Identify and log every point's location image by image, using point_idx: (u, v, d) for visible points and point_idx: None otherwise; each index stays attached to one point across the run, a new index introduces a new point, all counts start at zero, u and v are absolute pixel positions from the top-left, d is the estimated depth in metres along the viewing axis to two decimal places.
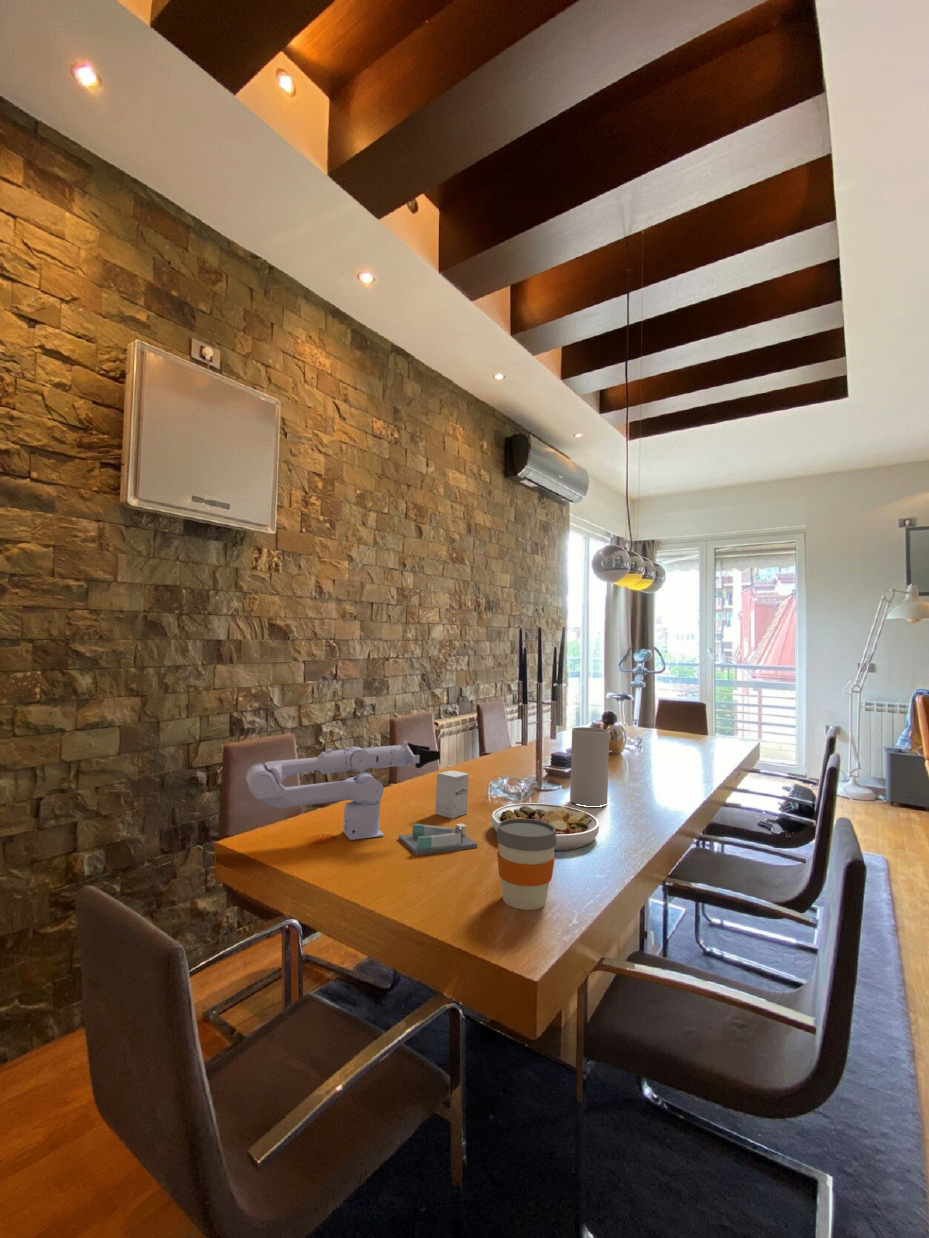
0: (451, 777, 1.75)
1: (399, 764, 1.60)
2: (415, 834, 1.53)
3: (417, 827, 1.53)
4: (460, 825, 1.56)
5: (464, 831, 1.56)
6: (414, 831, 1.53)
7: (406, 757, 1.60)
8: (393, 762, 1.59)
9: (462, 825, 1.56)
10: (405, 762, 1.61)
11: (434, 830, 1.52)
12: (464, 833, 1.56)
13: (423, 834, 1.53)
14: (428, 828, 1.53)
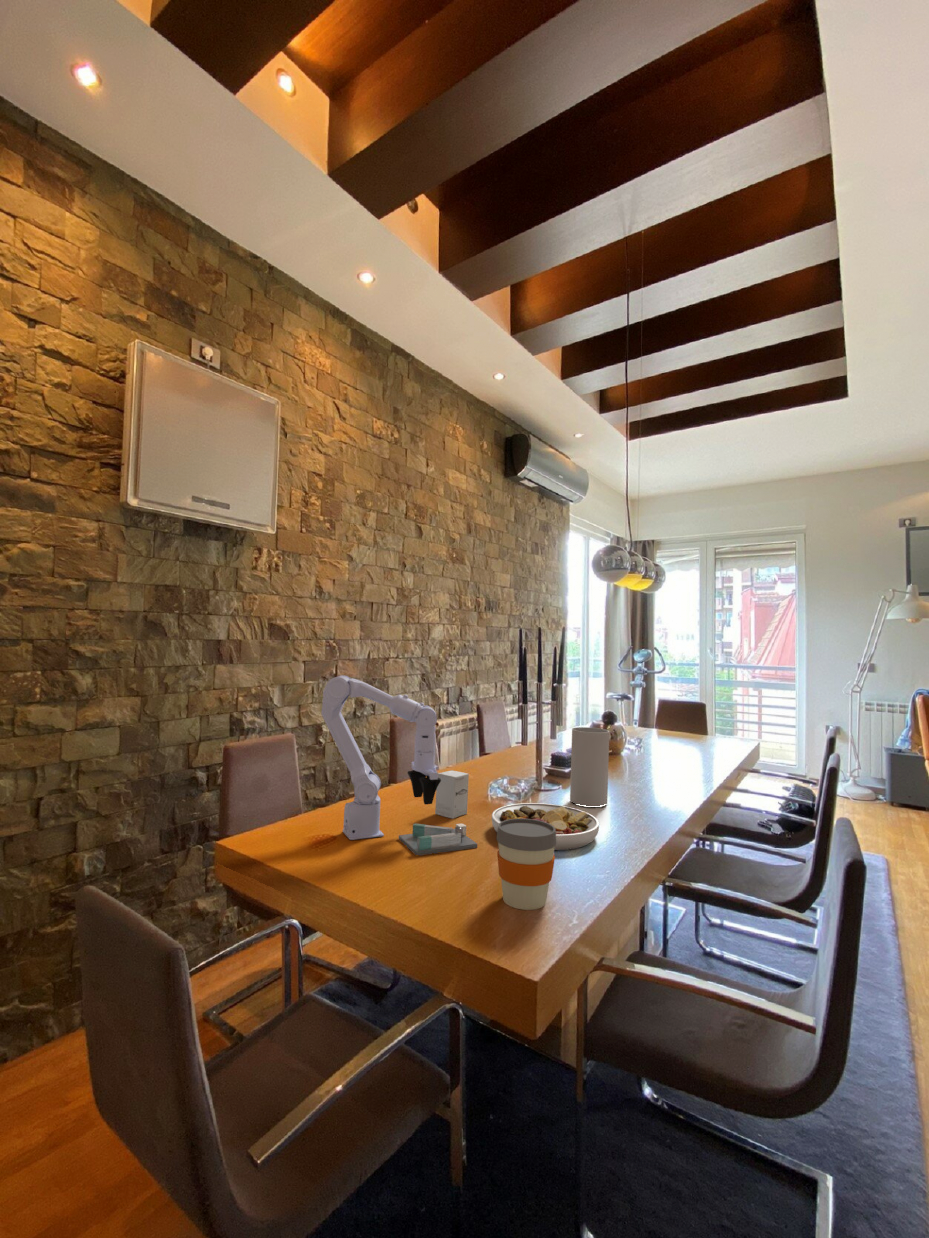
0: (451, 777, 1.75)
1: (419, 761, 1.57)
2: (415, 834, 1.53)
3: (417, 827, 1.53)
4: (460, 825, 1.56)
5: (464, 831, 1.56)
6: (414, 831, 1.53)
7: (427, 767, 1.57)
8: (423, 754, 1.57)
9: (462, 825, 1.56)
10: (422, 767, 1.57)
11: (434, 830, 1.52)
12: (464, 833, 1.56)
13: (423, 834, 1.53)
14: (428, 828, 1.53)
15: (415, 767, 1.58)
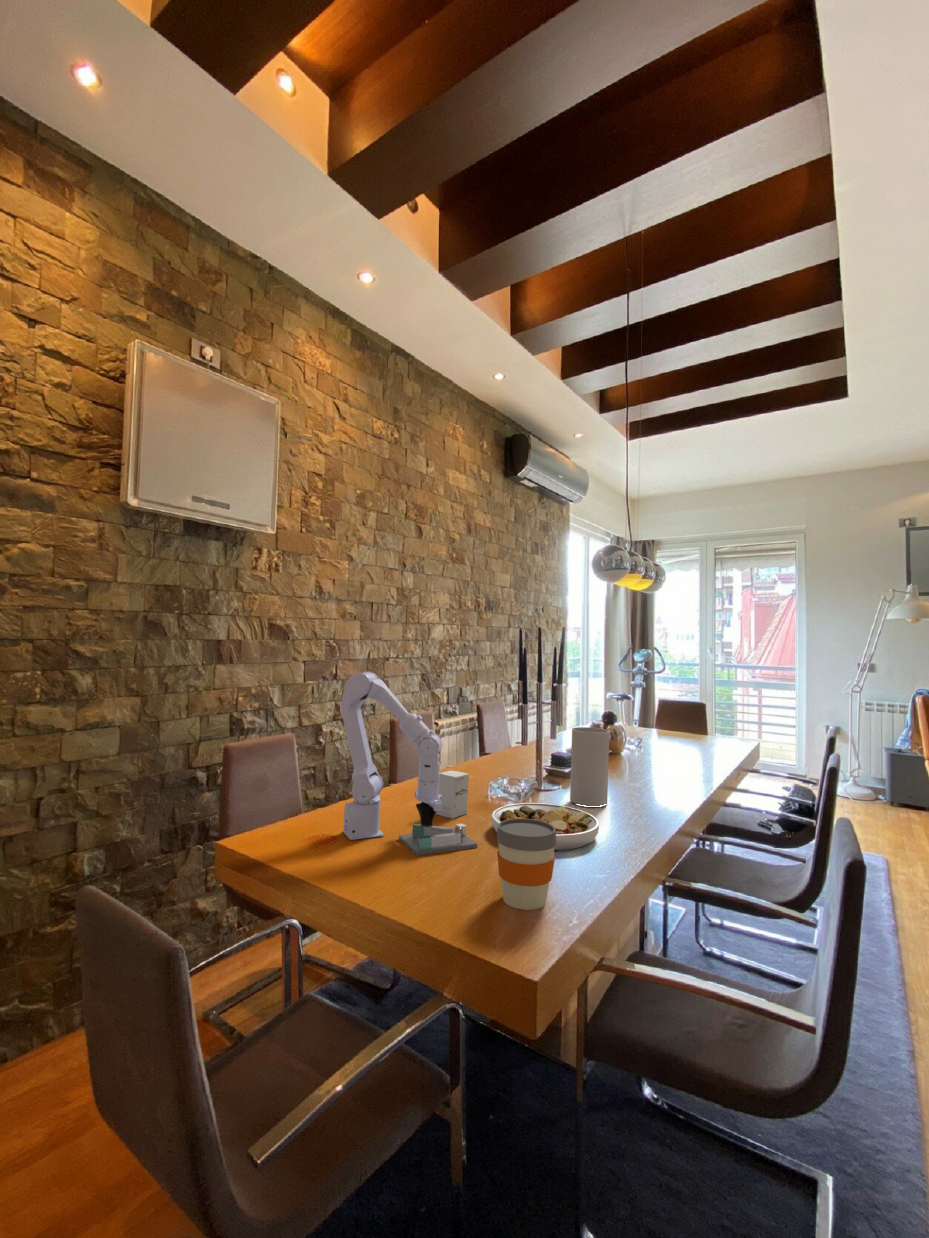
0: (451, 777, 1.75)
1: (423, 791, 1.53)
2: (415, 834, 1.53)
3: (416, 827, 1.53)
4: (460, 825, 1.56)
5: (464, 831, 1.56)
6: (414, 831, 1.53)
7: (431, 798, 1.53)
8: (427, 784, 1.53)
9: (462, 825, 1.56)
10: (425, 797, 1.53)
11: (434, 830, 1.52)
12: (464, 833, 1.56)
13: (423, 834, 1.53)
14: (428, 828, 1.53)
15: (419, 797, 1.54)
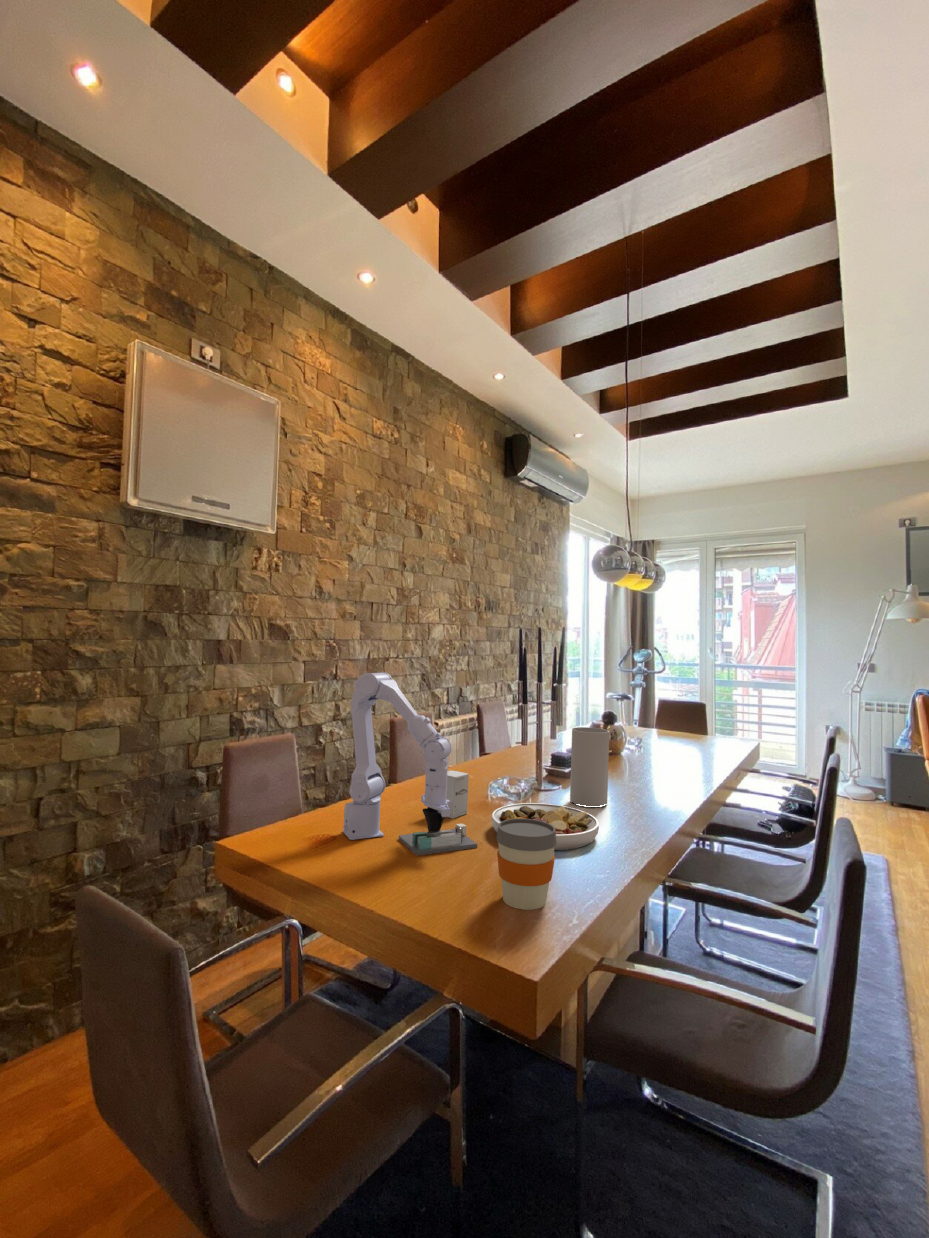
0: (451, 777, 1.75)
1: (430, 796, 1.49)
2: None
3: (418, 836, 1.47)
4: (460, 825, 1.56)
5: (464, 831, 1.56)
6: (416, 840, 1.46)
7: (439, 803, 1.49)
8: (435, 788, 1.49)
9: (462, 825, 1.56)
10: (433, 802, 1.48)
11: None
12: (464, 833, 1.56)
13: None
14: (430, 834, 1.48)
15: (426, 802, 1.49)
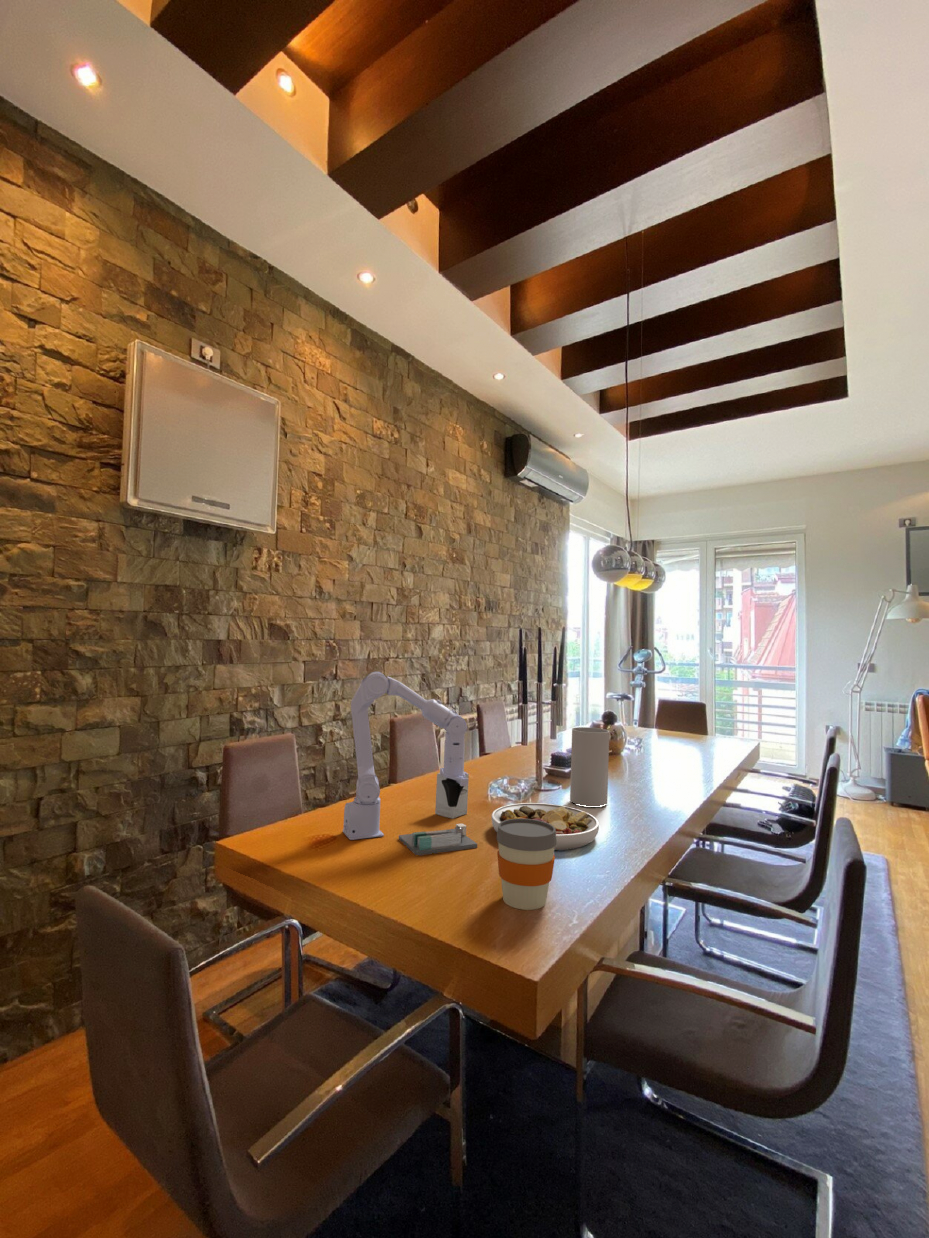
0: None
1: (449, 767, 1.60)
2: None
3: (418, 836, 1.47)
4: (460, 825, 1.56)
5: (464, 831, 1.56)
6: (416, 840, 1.46)
7: (457, 774, 1.60)
8: (453, 761, 1.60)
9: (462, 825, 1.56)
10: (451, 773, 1.60)
11: None
12: (464, 833, 1.56)
13: None
14: (430, 834, 1.48)
15: (445, 774, 1.61)
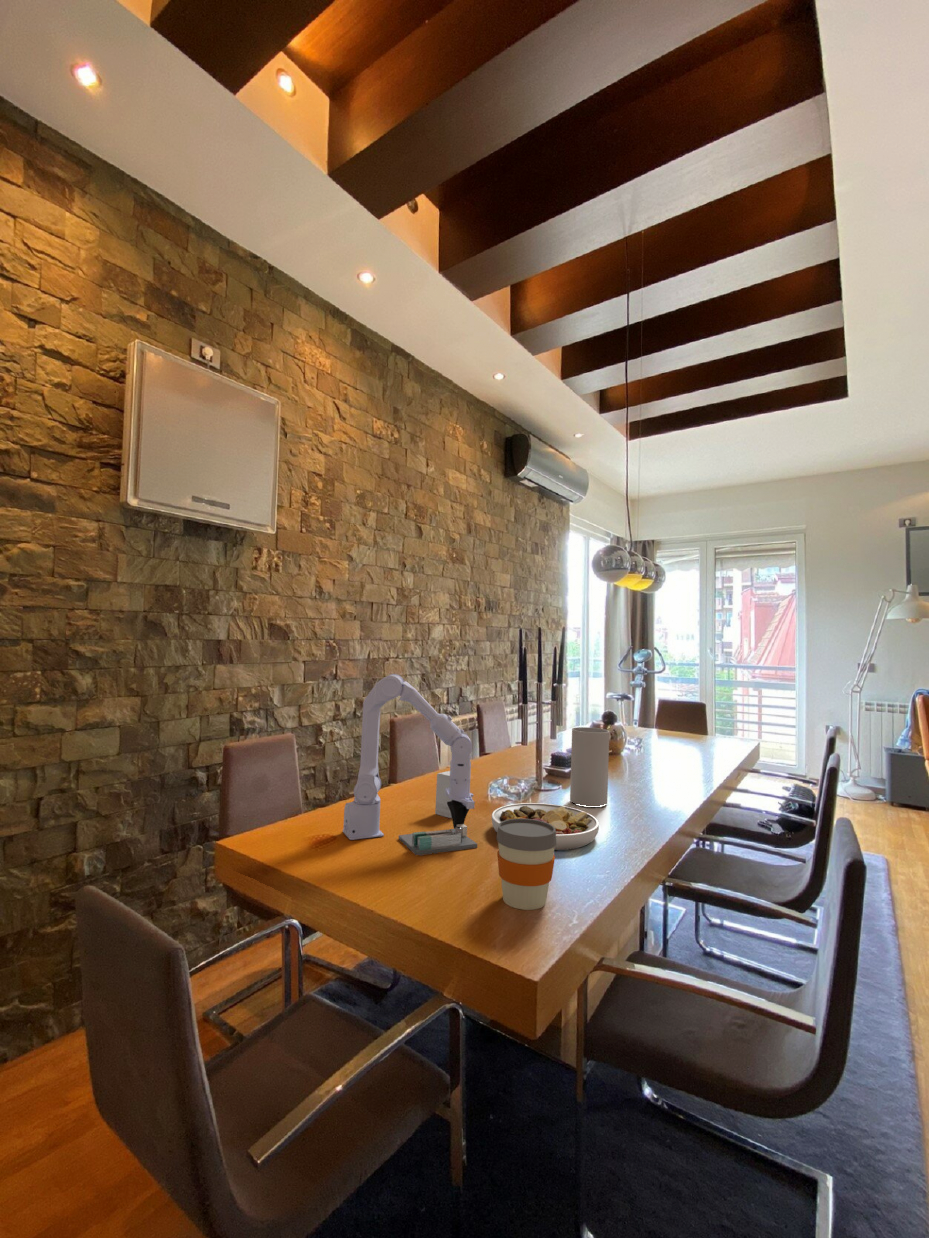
0: None
1: (455, 789, 1.56)
2: None
3: (418, 836, 1.47)
4: (461, 826, 1.56)
5: (465, 832, 1.55)
6: (416, 840, 1.46)
7: (463, 796, 1.56)
8: (459, 782, 1.56)
9: (463, 826, 1.56)
10: (457, 795, 1.56)
11: None
12: (465, 834, 1.55)
13: None
14: (430, 834, 1.48)
15: (451, 795, 1.57)
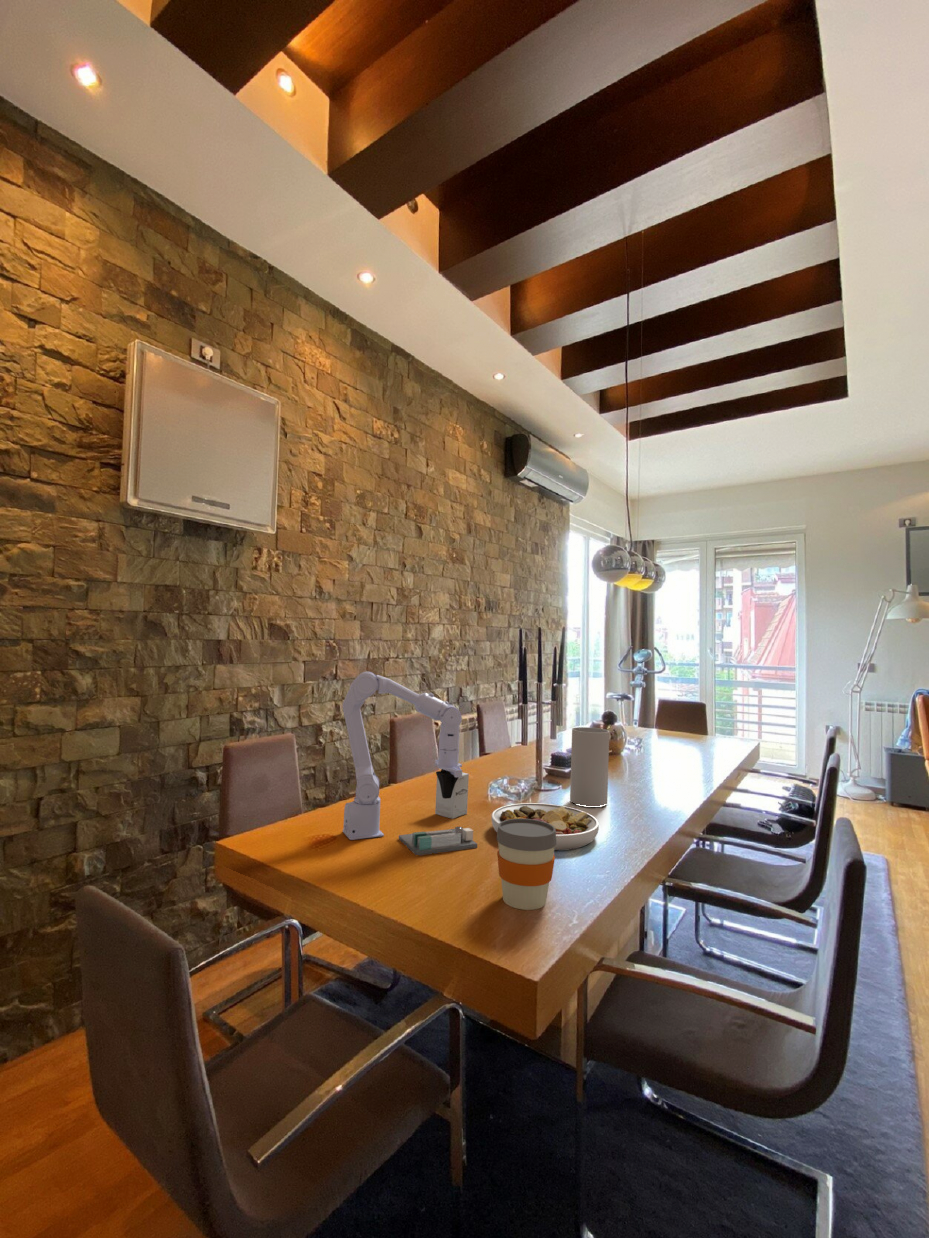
0: None
1: (444, 759, 1.59)
2: None
3: (418, 836, 1.47)
4: (467, 830, 1.53)
5: (471, 836, 1.52)
6: (416, 840, 1.46)
7: (451, 765, 1.59)
8: (448, 752, 1.59)
9: (469, 830, 1.53)
10: (446, 765, 1.59)
11: None
12: (471, 838, 1.52)
13: None
14: (430, 834, 1.48)
15: (439, 765, 1.60)
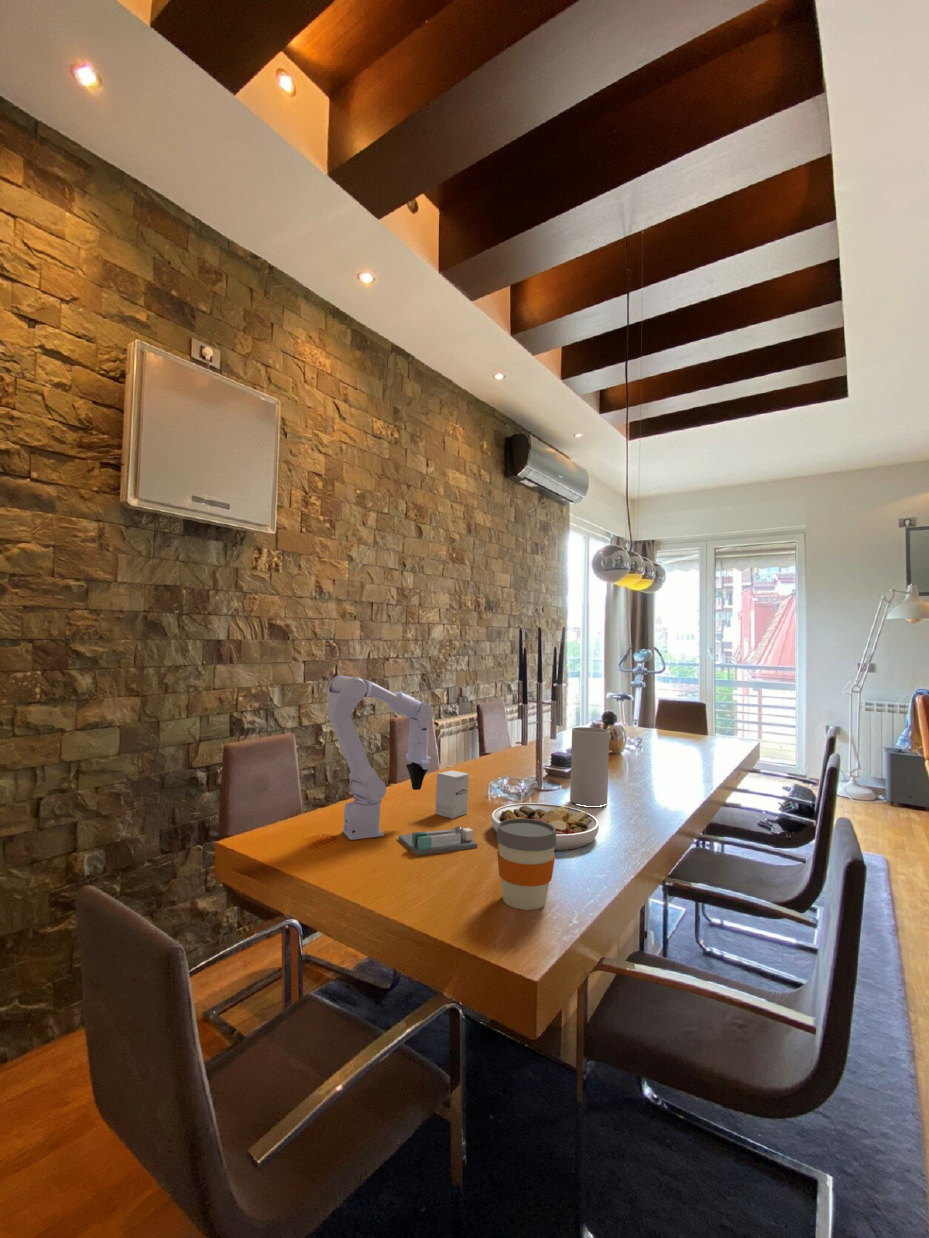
0: (451, 777, 1.75)
1: (413, 752, 1.67)
2: None
3: (418, 836, 1.47)
4: (467, 830, 1.53)
5: (471, 836, 1.52)
6: (416, 840, 1.46)
7: (420, 758, 1.67)
8: (417, 745, 1.67)
9: (469, 830, 1.53)
10: (415, 758, 1.66)
11: None
12: (471, 838, 1.52)
13: None
14: (430, 834, 1.48)
15: (409, 758, 1.67)
